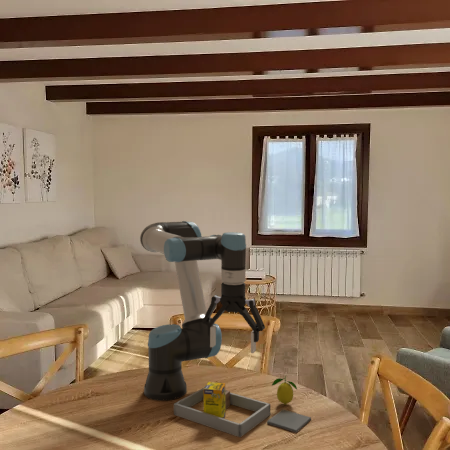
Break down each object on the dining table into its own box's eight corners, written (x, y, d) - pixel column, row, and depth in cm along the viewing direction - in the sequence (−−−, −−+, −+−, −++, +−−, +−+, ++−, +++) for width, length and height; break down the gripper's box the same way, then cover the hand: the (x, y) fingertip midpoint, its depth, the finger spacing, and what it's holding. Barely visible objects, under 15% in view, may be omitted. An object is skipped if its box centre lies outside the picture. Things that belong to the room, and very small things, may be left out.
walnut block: (210, 408, 164) (209, 393, 164) (216, 402, 168) (216, 388, 168) (223, 411, 162) (223, 396, 161) (230, 405, 166) (230, 390, 166)
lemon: (271, 405, 166) (271, 376, 165) (280, 399, 171) (280, 371, 170) (288, 410, 162) (289, 380, 161) (297, 404, 167) (297, 375, 166)
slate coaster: (267, 423, 153) (267, 421, 153) (282, 411, 161) (282, 409, 161) (296, 432, 147) (296, 430, 147) (310, 419, 155) (310, 417, 155)
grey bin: (173, 414, 159) (173, 403, 159) (206, 395, 174) (206, 385, 173) (240, 437, 145) (240, 425, 144) (270, 414, 159) (270, 403, 159)
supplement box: (222, 424, 152) (221, 390, 152) (203, 423, 154) (202, 388, 153) (225, 416, 158) (225, 382, 157) (207, 414, 159) (207, 381, 159)
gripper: (191, 281, 155) (191, 347, 157) (268, 288, 145) (267, 358, 147) (201, 277, 162) (201, 340, 164) (275, 283, 152) (274, 350, 154)
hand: (232, 348), depth 156 cm, fingers open, 13 cm apart
